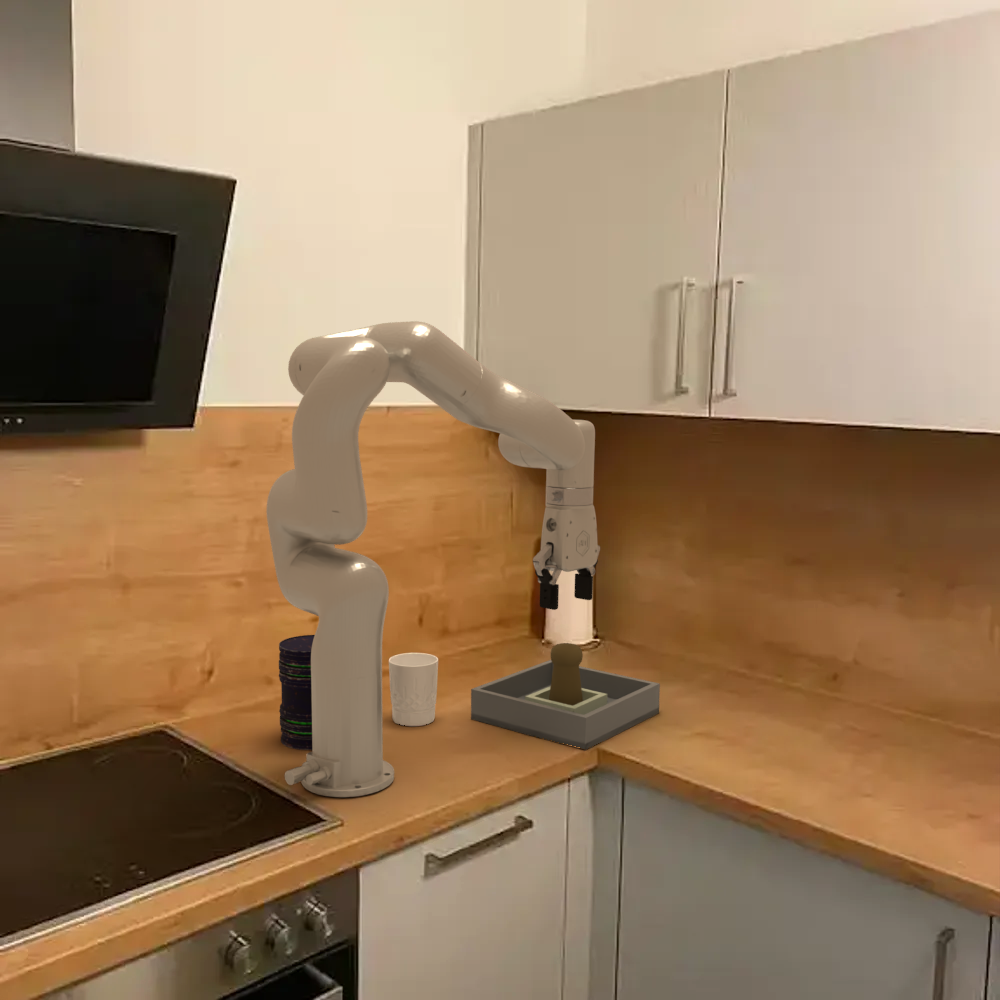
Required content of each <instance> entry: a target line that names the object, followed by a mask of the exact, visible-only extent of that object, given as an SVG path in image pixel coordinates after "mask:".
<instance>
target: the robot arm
mask: <svg viewBox="0 0 1000 1000" xmlns="http://www.w3.org/2000/svg"><path fill="white" fill-rule="evenodd" d="M288 360H289V361H288V368H287V369H288V375H289V379H290V381H291V383H292V385H293V387H294V388H295V389H296V391H297V392H299V393H300V394H301V395H302V398H301V400H300V401H299V404H298V406H297V409H296V412H295V414H294V418H293V421H292V427H291V442H292V443H291V444H292V454H293V455H292V456H293V466H294V468H293V469H290V470H287V471H286V472H284V473H283V474H281V475H280V476H278V478H277V479H276V480H275V481H274V482H273V484H272V486H271V487H270V490H269V493H268V495H267V501H266V521H267V527H268V534H269V539H270V547H271V552H272V559H273V564H274V568H275V569H274V570H275V574H276V578H277V583H278V587H279V589H280V591H281V594H282V595H283V597H284V598H285V600H287V602H288V603H289V604H291V605H292V606H293V607H295V608H297V609H299V610H300V611H304V612H306V613H310V614H312V615H315V616H317V617H318V624H317V628H316V630H315V634H314V635H315V636H314V639H313V643H312V649H311V690H312V750H311V751H310V752H307V753H306V760H305V761H304V762H303V763H302V765H301V766H296V767H294V768H291V769H289V770H286V771H285V773H284V781H285V782H286V783H287V784H288V785H289V786H292V785H296V784H298V783H300V784H302V787H303V788H305V789H306V790H307V791H309V792H311V793H313V794H316V795H318V796H319V795H320V796H325V797H331V798H353V797H361V796H366V795H371V794H374V793H377V792H379V791H382V790H384V789H386V788H387V787H389V786H390V785H391V784H392V783H393V782H394V779H395V769H394V767H393V765H392V764H390V763H389V762H388V761H386V760H384V759H383V757H384V756H383V754H384V753H383V752H384V751H383V745H384V744H383V741H384V740H383V636H384V635H383V634H384V625H385V619H386V614H387V608H388V604H389V596H390V591H389V590H390V588H389V587H390V586H389V583H388V578H387V576H386V573H385V572H384V570H383V569H382V567H381V566H380V565H379V564H378V563H377V561H374V560H373V559H371V558H370V557H368V556H367V555H364V554H360V553H359V552H354V551H350V550H347V549H342V548H336V547H335V545H337V546H338V545H346V544H350V543H353V542H354V541H356V540H357V539H358V538H360V536H361V535H362V534H363V532H364V531H365V530H366V526H367V523H368V504H367V497H366V490H365V483H364V478H363V477H364V476H363V469H362V464H361V456H360V446H359V444H360V443H359V432H360V427H361V426H360V425H361V422H362V419H363V417H364V415H365V414H366V413H365V412H366V411H367V409H368V408H369V406H370V405H371V404H372V402H373V401H374V400H375V399H376V398H377V396H379V394H380V393H381V392H382V390H383V389H384V388H385V386H386V384H387V383H403V384H407V385H409V386H411V387H413V388H414V389H415V390H417V391H418V392H419V393H420V394H422V395H423V396H425V397H426V398H427V399H428V400H430V401H431V402H433V403H434V404H436V405H437V406H438V407H440V408H441V409H442V410H443V411H445V412H446V413H448V415H451V417H452V418H454V419H456V420H457V421H459V422H461V423H465V425H466V424H467V425H469V426H473V427H475V428H476V429H477V428H478V429H482V430H485V431H490V432H493V433H498V434H499V436H498V439H497V440H498V444H497V445H498V449H499V450H498V451H499V452H500V454H501V455H502V457H503V458H504V459H505V460H506V461H507V462H509V463H510V464H512V465H515V466H518V467H523V468H531V469H545V470H546V472H545V473H546V475H545V476H546V481H545V509H544V514H543V521H542V527H541V539H540V550H539V552H537V553H536V555H534V556H533V558H532V563H533V567H534V570H535V572H534V573H535V575H536V577H537V582H538V583H539V607H540V608H542V609H548V610H552V611H556V610H558V609H559V595H560V594H559V590H560V585H559V584H558V583H557V582H558V580H559V578H560V575H561V573H562V571H563V572H567V573H569V572H575V571H576V572H577V573H575V574H574V592H573V593H574V594H573V595H574V598H575V599H579V600H585V601H591V600H592V599H593V595H594V594H593V592H594V590H593V589H594V585H593V584H594V576H595V574H596V567H597V564H598V563H599V561H598V558H599V555H600V551H601V546H600V545H598V525H597V524H598V523H597V515H596V509H595V506H594V484H595V480H594V479H595V477H594V476H595V473H594V472H595V448H596V447H595V446H596V441H595V440H596V429H595V426H594V424H593V423H592V422H591V421H589V420H587V419H586V420H584V419H572V418H571V416H569V414H566V412H564V411H563V410H562V409H560V408H559V406H556V405H555V404H554V403H553V402H551V401H550V400H548V399H546V398H545V397H543V396H541V395H539V394H537V393H535V392H534V391H532V390H529V389H527V388H525V387H523V386H520V385H519V384H517V383H515V382H513V381H511V380H509V379H507V378H505V377H503V376H502V375H501V376H500V375H498V374H497V373H494V372H493V371H491V370H490V369H489V368H487V366H485V365H483V364H482V363H481V362H480V361H478V360H477V359H476V358H474V357H473V356H472V355H471V354H470V353H468V352H467V351H466V350H465V349H464V348H462V347H461V346H460V345H458V344H457V343H456V342H455V341H454V340H453V339H451V338H449V336H447V334H445V333H443V332H442V330H440V329H438V328H437V327H436V326H434V325H432V324H430V323H428V322H425V321H423V322H422V321H417V320H416V321H415V320H414V321H394V322H392V321H391V322H384V323H378V324H374V325H373V324H372V325H369V326H365V327H359V328H355V329H350V330H346V331H341V332H336V333H332V334H331V333H330V334H326V335H322V336H321V335H320V336H315V337H311V338H308V339H306V340H304V341H303V342H301V343H300V344H299V345H297V347H296V348H295V349H294V350H293V352H292V353H291V355H290V358H289V359H288ZM551 572H552V574H551Z"/></svg>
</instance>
